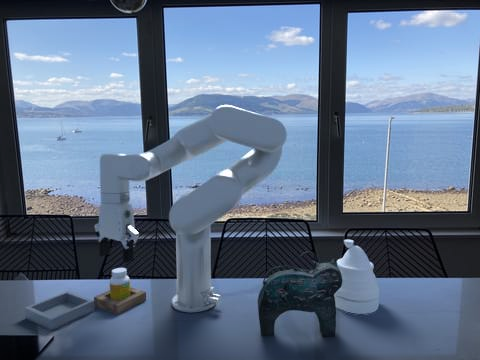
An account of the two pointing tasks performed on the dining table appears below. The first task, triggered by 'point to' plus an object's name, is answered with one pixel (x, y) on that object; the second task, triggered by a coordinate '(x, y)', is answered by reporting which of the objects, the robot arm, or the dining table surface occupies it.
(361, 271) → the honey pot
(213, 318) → the dining table surface
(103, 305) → the socket block
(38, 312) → the tray
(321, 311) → the green animal figurine
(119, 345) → the dining table surface
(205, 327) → the dining table surface
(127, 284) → the supplement bottle
